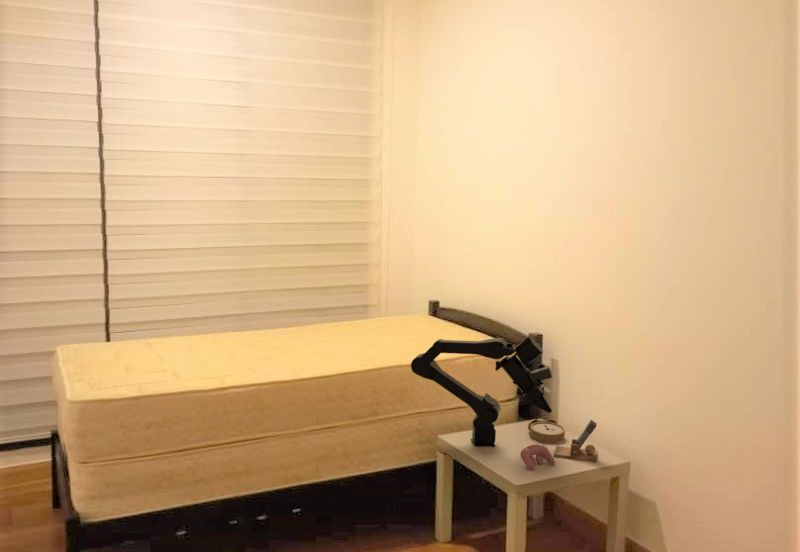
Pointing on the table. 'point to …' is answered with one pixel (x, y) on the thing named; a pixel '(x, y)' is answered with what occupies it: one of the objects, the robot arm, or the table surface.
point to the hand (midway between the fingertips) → (550, 411)
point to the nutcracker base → (576, 452)
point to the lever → (586, 433)
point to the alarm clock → (546, 431)
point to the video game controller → (540, 454)
